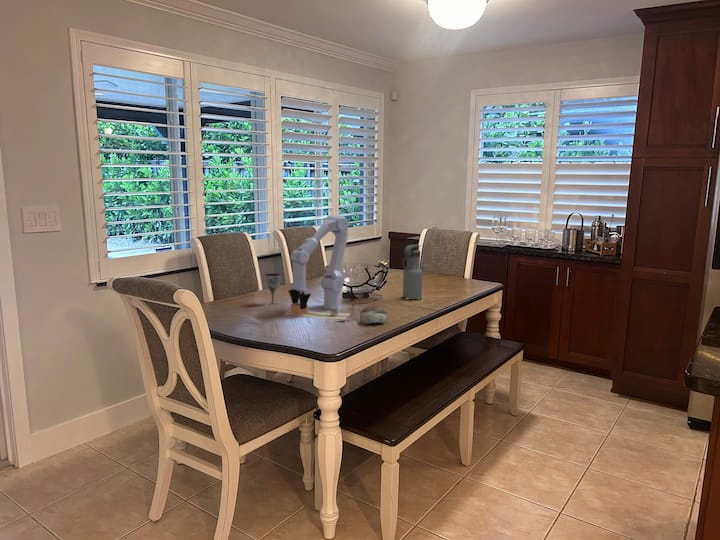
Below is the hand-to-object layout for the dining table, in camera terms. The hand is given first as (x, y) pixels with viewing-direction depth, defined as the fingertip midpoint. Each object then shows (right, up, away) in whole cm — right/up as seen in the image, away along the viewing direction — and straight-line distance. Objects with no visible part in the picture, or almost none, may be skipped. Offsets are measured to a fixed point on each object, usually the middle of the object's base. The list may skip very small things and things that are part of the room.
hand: (299, 307), depth 241 cm
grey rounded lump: (+33, -6, -8) cm, 35 cm away
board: (+8, -4, -1) cm, 9 cm away
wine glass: (-15, -1, +21) cm, 26 cm away
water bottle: (+54, +2, +41) cm, 68 cm away
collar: (0, -3, +1) cm, 3 cm away
